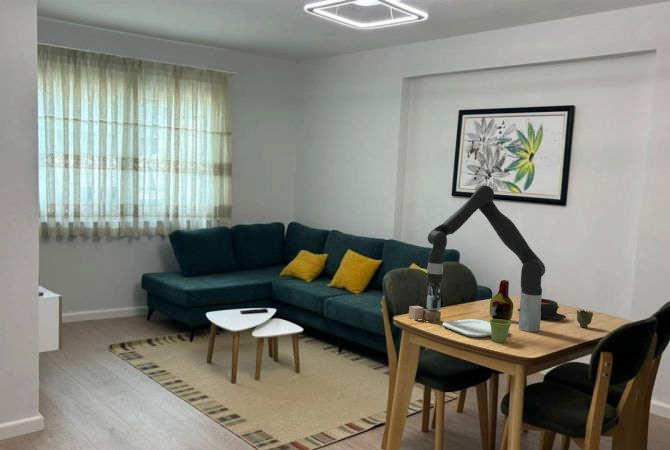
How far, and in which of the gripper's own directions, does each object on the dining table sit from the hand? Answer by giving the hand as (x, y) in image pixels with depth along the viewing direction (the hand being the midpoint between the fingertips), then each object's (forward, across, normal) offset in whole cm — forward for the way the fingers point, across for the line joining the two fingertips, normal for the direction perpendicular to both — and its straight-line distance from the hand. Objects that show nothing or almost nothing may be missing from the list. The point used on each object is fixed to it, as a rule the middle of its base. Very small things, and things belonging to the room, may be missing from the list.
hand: (432, 306), depth 294 cm
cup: (+7, -13, -74) cm, 75 cm away
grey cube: (+1, 0, 0) cm, 1 cm away
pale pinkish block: (+7, +3, +7) cm, 10 cm away
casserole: (+7, +9, -64) cm, 65 cm away
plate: (+7, -19, -14) cm, 24 cm away
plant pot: (+7, -36, -17) cm, 40 cm away
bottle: (+7, +3, -38) cm, 39 cm away
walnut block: (+7, 0, 0) cm, 7 cm away
